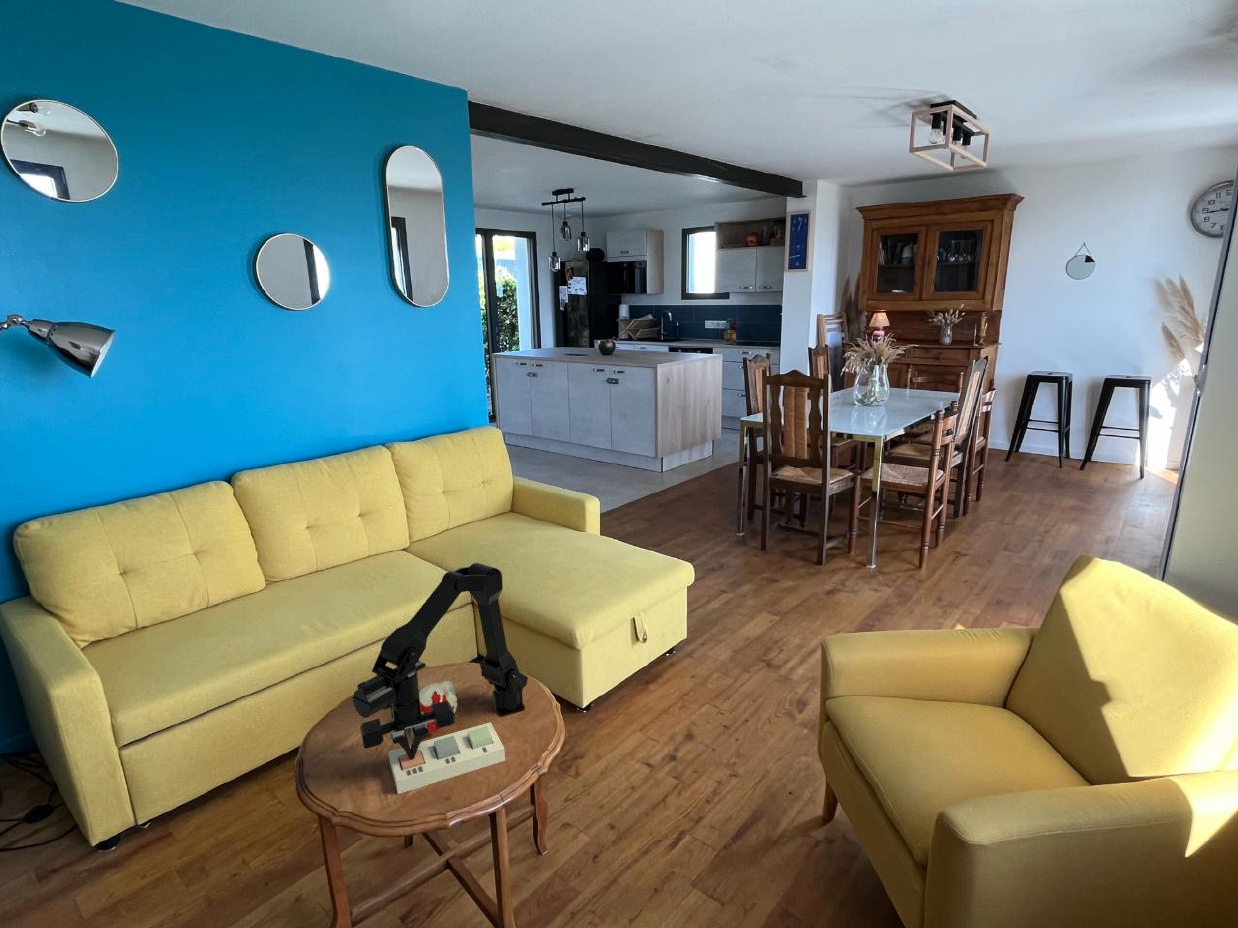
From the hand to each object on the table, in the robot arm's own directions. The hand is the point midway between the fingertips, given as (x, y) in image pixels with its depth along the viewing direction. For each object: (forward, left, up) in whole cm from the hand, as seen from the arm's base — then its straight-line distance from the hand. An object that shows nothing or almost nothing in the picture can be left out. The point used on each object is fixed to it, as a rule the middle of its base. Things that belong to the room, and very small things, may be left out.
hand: (411, 758), depth 148 cm
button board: (-7, 0, -4) cm, 8 cm away
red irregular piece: (-8, -16, -4) cm, 18 cm away
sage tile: (-15, 0, -1) cm, 15 cm away
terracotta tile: (0, 0, -2) cm, 2 cm away
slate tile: (-7, 0, -1) cm, 8 cm away
